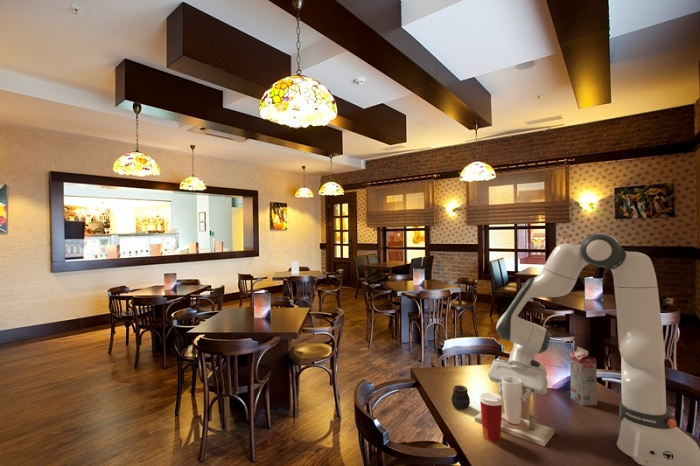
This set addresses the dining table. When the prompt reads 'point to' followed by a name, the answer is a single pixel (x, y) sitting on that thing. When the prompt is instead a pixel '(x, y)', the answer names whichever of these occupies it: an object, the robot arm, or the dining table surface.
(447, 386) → the dining table surface
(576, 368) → the juice carton
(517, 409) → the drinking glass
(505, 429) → the pin board
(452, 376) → the dining table surface
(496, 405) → the paper cup
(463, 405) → the mate gourd
